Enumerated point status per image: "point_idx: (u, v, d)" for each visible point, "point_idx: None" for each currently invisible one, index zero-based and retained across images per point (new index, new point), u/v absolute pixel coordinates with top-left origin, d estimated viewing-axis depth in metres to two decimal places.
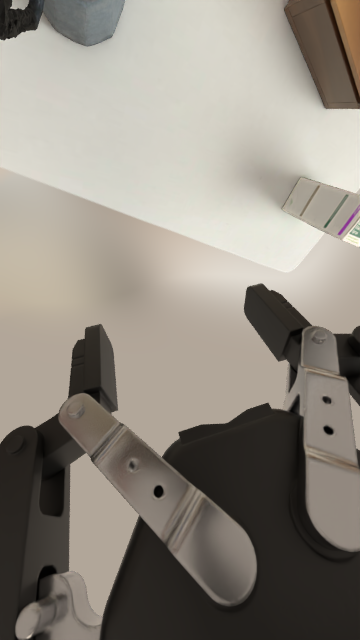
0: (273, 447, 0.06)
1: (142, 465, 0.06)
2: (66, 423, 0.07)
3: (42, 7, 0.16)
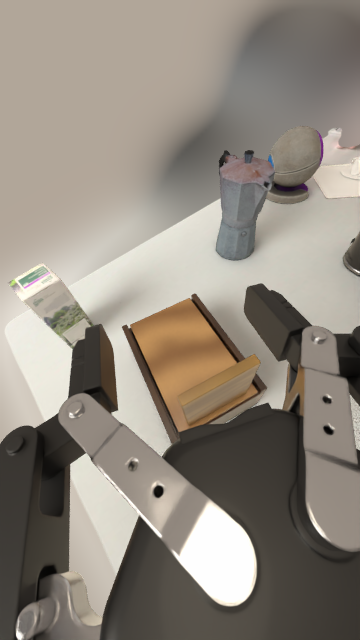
0: (273, 447, 0.06)
1: (142, 465, 0.06)
2: (66, 423, 0.07)
3: None
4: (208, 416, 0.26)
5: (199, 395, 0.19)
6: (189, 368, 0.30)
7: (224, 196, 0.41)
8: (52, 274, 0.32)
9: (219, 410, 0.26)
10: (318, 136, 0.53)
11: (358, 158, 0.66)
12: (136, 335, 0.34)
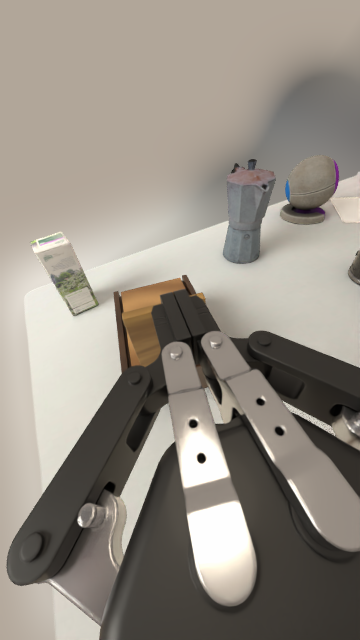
0: None
1: (200, 429, 0.06)
2: (165, 358, 0.09)
3: None
4: None
5: (140, 314, 0.21)
6: None
7: (228, 199, 0.45)
8: (65, 238, 0.38)
9: None
10: (333, 163, 0.57)
11: None
12: (123, 300, 0.37)
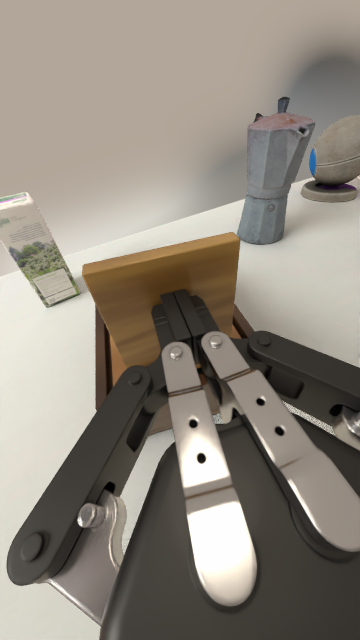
0: None
1: (200, 429, 0.06)
2: (165, 358, 0.09)
3: None
4: None
5: (117, 265, 0.11)
6: None
7: (250, 155, 0.35)
8: (28, 197, 0.27)
9: None
10: None
11: None
12: None
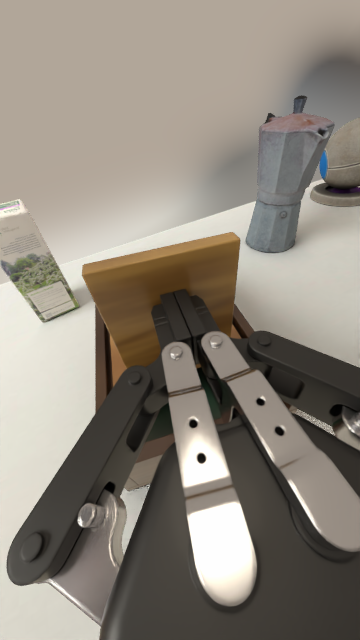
0: None
1: (200, 429, 0.06)
2: (165, 358, 0.09)
3: None
4: None
5: (117, 265, 0.11)
6: None
7: (262, 158, 0.32)
8: (21, 206, 0.25)
9: None
10: None
11: None
12: None
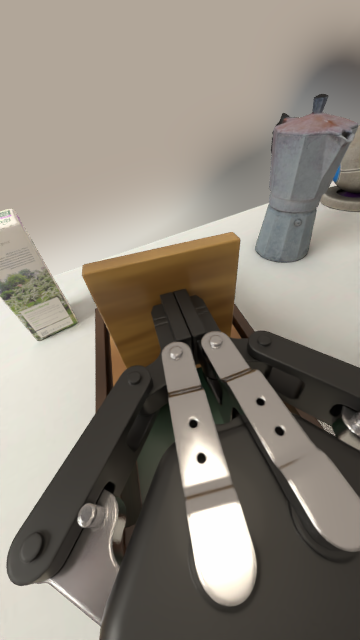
0: None
1: (200, 429, 0.06)
2: (165, 358, 0.09)
3: None
4: None
5: (117, 265, 0.11)
6: None
7: (276, 163, 0.30)
8: (12, 217, 0.22)
9: None
10: None
11: None
12: None
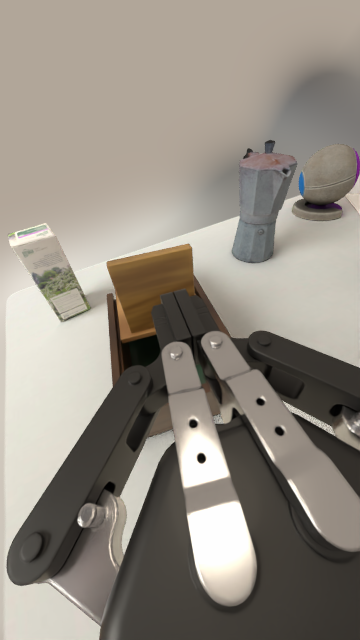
0: None
1: (200, 429, 0.06)
2: (165, 358, 0.09)
3: None
4: (152, 328, 0.26)
5: (125, 261, 0.20)
6: None
7: (241, 187, 0.39)
8: (49, 230, 0.32)
9: None
10: (354, 152, 0.51)
11: None
12: None
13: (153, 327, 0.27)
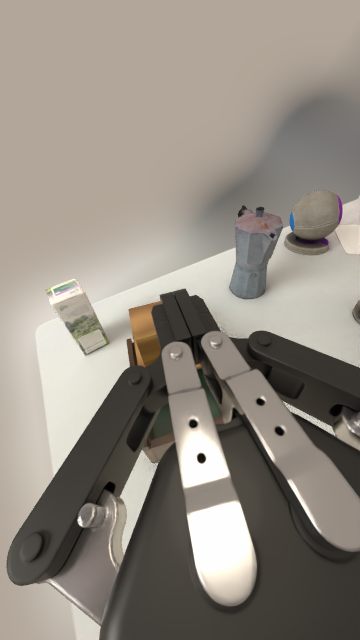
0: None
1: (200, 429, 0.06)
2: (165, 358, 0.09)
3: None
4: None
5: (148, 335, 0.28)
6: None
7: (236, 242, 0.47)
8: (79, 287, 0.39)
9: None
10: (337, 199, 0.58)
11: None
12: (131, 316, 0.44)
13: None
